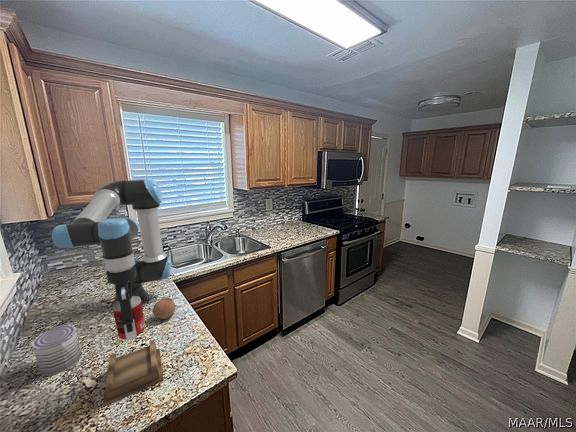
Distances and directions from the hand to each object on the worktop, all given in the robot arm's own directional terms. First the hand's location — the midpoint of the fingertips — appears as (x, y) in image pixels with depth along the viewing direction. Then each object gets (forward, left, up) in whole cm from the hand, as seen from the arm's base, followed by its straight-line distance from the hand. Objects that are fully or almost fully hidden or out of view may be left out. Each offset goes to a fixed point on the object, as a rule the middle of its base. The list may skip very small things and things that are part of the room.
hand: (131, 331), depth 77 cm
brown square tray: (0, -1, -16) cm, 16 cm away
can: (-21, -24, -17) cm, 36 cm away
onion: (-30, +11, -17) cm, 36 cm away
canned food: (0, 0, -1) cm, 1 cm away
